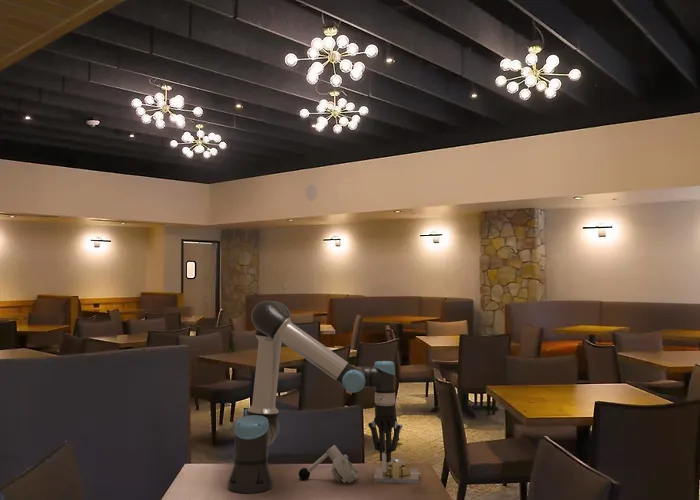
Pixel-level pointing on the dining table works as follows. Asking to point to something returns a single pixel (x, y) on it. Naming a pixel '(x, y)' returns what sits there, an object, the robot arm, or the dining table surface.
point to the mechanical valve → (334, 466)
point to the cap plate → (408, 479)
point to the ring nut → (398, 470)
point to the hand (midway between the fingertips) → (385, 471)
